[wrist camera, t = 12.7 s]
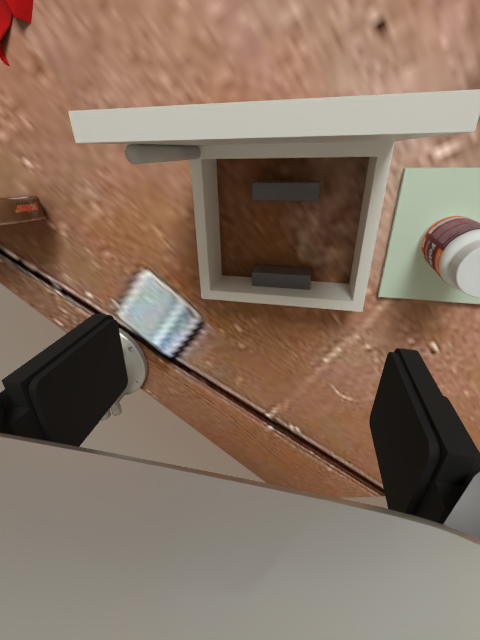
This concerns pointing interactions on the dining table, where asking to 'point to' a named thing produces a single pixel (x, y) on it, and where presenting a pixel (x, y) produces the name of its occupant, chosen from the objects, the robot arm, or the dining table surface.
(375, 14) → the dining table surface
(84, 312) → the dining table surface
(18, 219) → the tin
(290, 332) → the dining table surface
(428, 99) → the equipment case
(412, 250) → the mat
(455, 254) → the pill bottle
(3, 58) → the cloth
